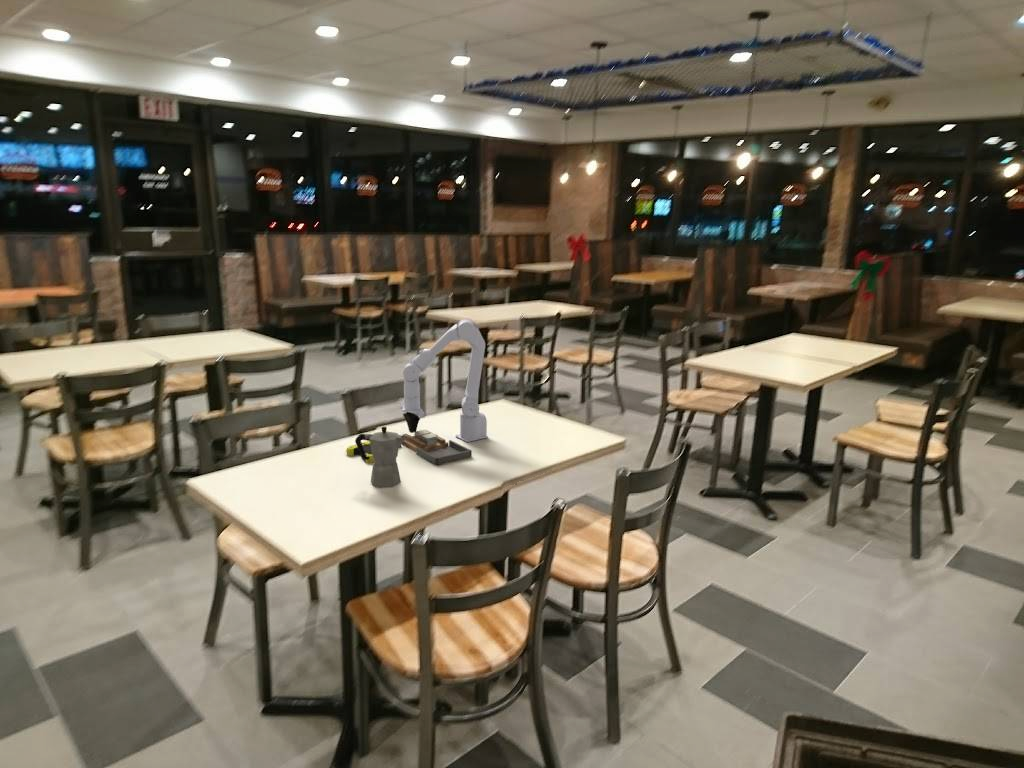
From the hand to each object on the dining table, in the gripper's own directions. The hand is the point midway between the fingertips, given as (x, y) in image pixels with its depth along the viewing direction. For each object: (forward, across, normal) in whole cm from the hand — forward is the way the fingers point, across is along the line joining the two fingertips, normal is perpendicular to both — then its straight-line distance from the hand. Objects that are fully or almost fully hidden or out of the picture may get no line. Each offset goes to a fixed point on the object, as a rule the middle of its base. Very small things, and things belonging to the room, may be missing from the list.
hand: (412, 432), depth 245 cm
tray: (+3, +22, 0) cm, 22 cm away
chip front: (+1, +12, 0) cm, 12 cm away
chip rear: (+1, +7, 0) cm, 7 cm away
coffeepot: (+3, +31, -28) cm, 42 cm away
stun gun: (+3, +6, -17) cm, 18 cm away
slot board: (+3, +8, 0) cm, 8 cm away
